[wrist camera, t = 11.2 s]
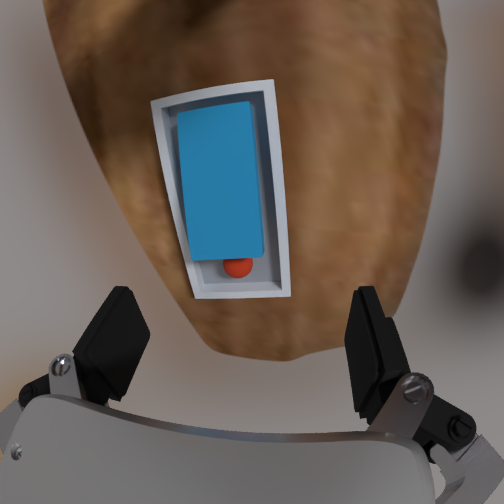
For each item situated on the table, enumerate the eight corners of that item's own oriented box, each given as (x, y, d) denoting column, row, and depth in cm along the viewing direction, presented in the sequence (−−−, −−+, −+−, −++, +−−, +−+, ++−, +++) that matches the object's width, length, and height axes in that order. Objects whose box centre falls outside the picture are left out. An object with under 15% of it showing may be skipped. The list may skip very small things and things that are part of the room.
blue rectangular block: (199, 126, 30) (214, 274, 34) (176, 113, 23) (196, 296, 27) (257, 118, 29) (270, 271, 33) (249, 100, 22) (265, 294, 26)
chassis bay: (159, 100, 25) (150, 101, 23) (273, 81, 23) (273, 79, 21) (199, 287, 36) (195, 298, 34) (290, 284, 35) (290, 296, 33)
